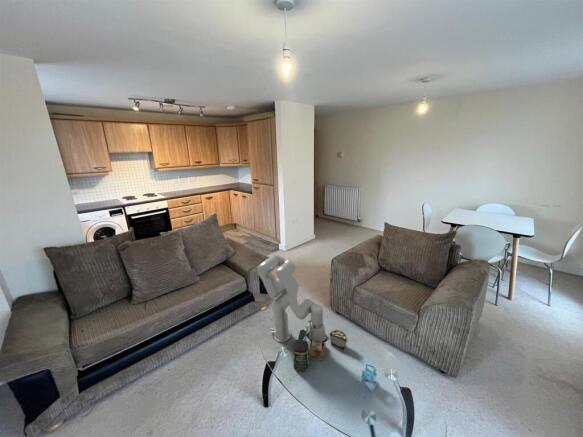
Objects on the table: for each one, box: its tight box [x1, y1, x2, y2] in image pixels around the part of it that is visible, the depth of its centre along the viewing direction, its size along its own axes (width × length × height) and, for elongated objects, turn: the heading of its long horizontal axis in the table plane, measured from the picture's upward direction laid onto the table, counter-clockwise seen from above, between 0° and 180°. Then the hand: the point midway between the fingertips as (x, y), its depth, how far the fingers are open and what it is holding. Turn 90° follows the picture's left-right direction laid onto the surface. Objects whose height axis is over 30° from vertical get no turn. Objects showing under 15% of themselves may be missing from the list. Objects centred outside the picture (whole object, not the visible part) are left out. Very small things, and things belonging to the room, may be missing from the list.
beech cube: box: [312, 340, 322, 351], centre depth 154 cm, size 6×6×6 cm
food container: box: [328, 329, 348, 352], centre depth 160 cm, size 12×6×10 cm, turn 58°
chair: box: [360, 363, 379, 394], centre depth 134 cm, size 8×8×12 cm
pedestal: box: [308, 342, 327, 361], centre depth 157 cm, size 10×10×4 cm
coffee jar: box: [292, 339, 310, 372], centre depth 146 cm, size 10×8×19 cm
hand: (317, 345), depth 155 cm, fingers closed on beech cube, 5 cm apart
